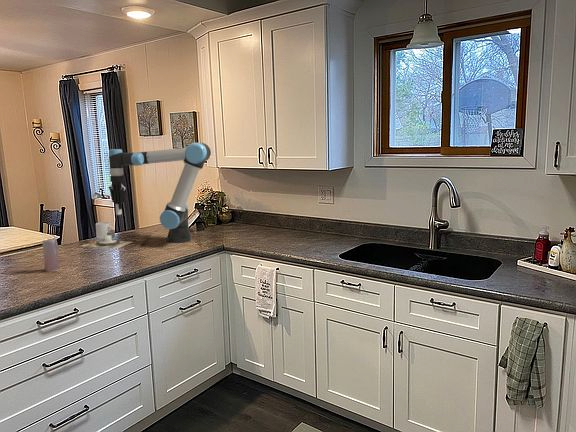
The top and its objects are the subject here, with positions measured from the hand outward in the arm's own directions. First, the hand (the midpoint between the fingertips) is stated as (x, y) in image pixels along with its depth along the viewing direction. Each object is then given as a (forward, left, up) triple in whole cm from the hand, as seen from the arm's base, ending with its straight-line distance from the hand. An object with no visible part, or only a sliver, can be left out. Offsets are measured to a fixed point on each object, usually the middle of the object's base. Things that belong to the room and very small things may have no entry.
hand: (119, 214), depth 264 cm
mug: (+17, -11, -19) cm, 27 cm away
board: (+5, +6, -18) cm, 20 cm away
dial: (+5, +3, -17) cm, 18 cm away
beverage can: (+2, +57, -19) cm, 60 cm away
